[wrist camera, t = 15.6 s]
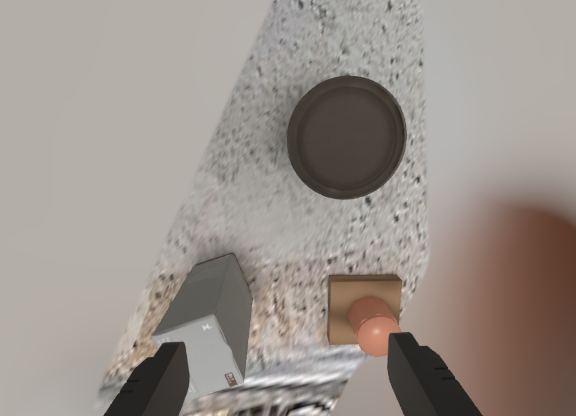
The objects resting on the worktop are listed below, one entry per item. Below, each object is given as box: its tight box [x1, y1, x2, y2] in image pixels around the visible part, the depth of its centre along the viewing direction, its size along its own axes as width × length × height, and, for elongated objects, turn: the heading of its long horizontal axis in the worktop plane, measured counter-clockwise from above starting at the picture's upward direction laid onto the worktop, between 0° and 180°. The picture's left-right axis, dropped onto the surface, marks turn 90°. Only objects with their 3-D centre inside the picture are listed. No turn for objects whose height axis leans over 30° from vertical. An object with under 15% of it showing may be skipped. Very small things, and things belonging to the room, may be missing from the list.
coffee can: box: [286, 76, 407, 200], centre depth 31 cm, size 10×10×14 cm
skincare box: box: [151, 253, 253, 401], centre depth 34 cm, size 8×7×16 cm
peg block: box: [327, 275, 402, 345], centre depth 40 cm, size 10×10×6 cm
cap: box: [347, 296, 401, 357], centre depth 39 cm, size 6×6×5 cm
